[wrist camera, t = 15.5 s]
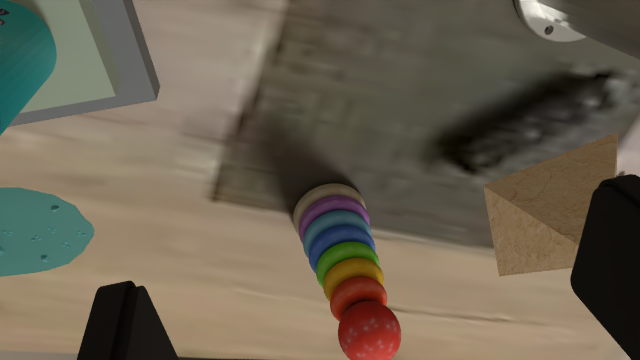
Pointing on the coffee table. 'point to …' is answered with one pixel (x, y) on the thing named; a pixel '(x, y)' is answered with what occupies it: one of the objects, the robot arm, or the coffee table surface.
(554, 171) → the model pyramid
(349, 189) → the stacking toy
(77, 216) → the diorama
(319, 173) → the coffee table surface
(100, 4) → the stepped block
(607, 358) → the coffee table surface
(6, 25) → the beverage can
